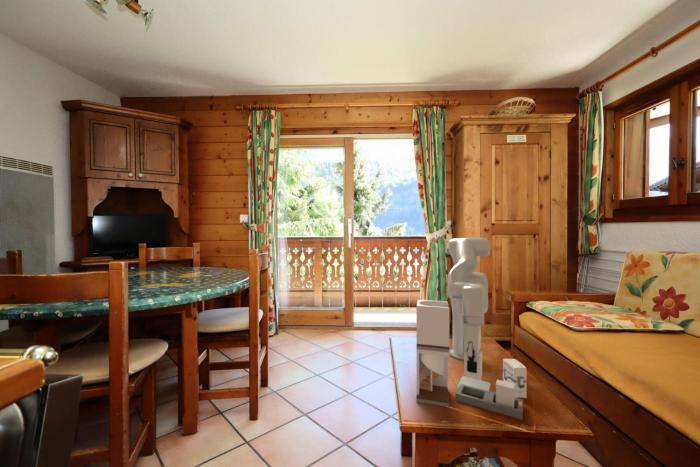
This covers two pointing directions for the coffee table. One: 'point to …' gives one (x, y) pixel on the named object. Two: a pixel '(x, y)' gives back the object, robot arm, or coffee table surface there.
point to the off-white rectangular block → (505, 393)
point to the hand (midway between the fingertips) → (473, 369)
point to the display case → (432, 352)
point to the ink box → (516, 376)
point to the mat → (474, 383)
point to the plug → (479, 366)
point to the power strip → (488, 401)
